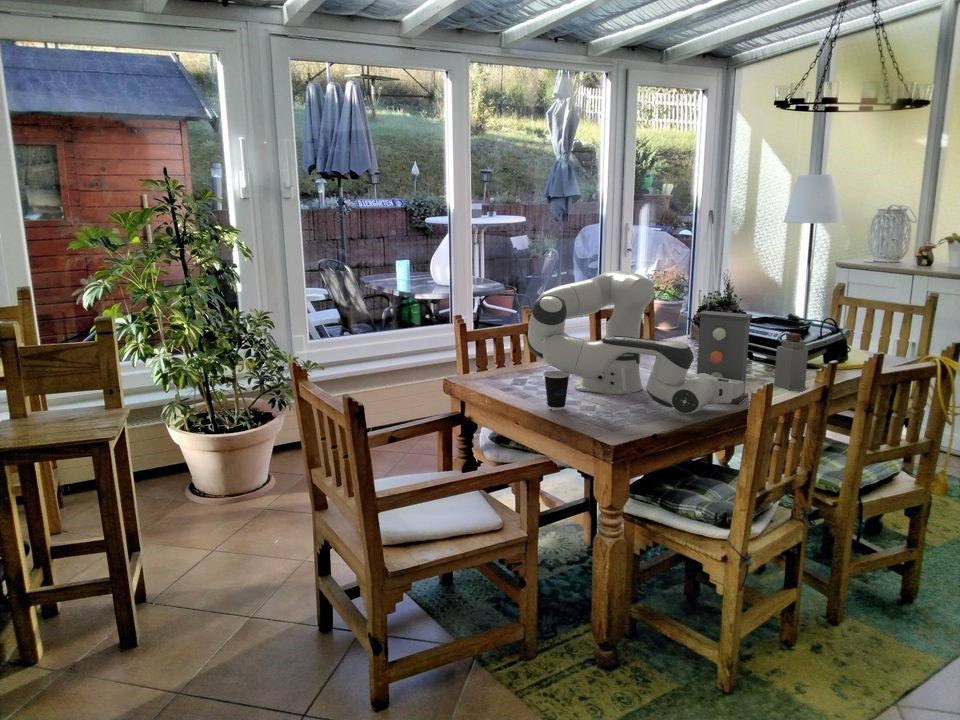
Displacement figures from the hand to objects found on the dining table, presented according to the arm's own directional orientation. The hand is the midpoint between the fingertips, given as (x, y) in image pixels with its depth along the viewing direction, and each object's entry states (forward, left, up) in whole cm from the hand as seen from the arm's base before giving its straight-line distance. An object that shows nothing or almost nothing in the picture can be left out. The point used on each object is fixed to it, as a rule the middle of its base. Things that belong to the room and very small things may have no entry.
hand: (715, 378), depth 228 cm
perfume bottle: (+25, +23, -8) cm, 35 cm away
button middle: (0, 0, +5) cm, 5 cm away
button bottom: (+1, +2, -2) cm, 3 cm away
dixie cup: (-48, -17, -8) cm, 51 cm away
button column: (+2, +6, -8) cm, 10 cm away
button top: (+1, +2, +12) cm, 12 cm away
